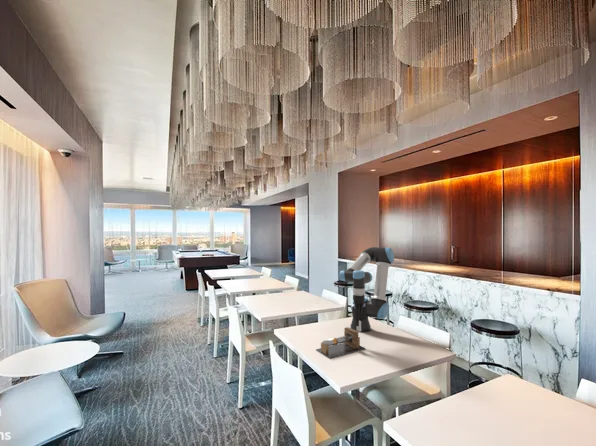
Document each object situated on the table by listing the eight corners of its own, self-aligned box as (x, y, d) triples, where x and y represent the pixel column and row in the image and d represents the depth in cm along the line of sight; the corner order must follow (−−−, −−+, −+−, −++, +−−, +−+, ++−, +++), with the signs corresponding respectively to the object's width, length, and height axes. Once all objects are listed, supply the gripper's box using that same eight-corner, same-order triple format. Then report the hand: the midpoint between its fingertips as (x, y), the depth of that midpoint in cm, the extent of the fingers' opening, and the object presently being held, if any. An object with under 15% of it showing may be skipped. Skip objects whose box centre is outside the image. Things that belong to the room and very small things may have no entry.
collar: (347, 342, 192) (347, 327, 193) (358, 347, 184) (358, 331, 184) (344, 343, 191) (344, 327, 191) (354, 348, 182) (354, 332, 182)
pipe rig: (350, 342, 196) (350, 329, 196) (365, 349, 184) (365, 336, 184) (316, 350, 182) (316, 337, 182) (329, 358, 170) (329, 344, 170)
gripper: (362, 292, 198) (362, 327, 197) (347, 294, 191) (347, 330, 190) (370, 294, 192) (370, 330, 191) (355, 296, 185) (355, 334, 184)
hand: (358, 330), depth 191 cm, fingers closed
